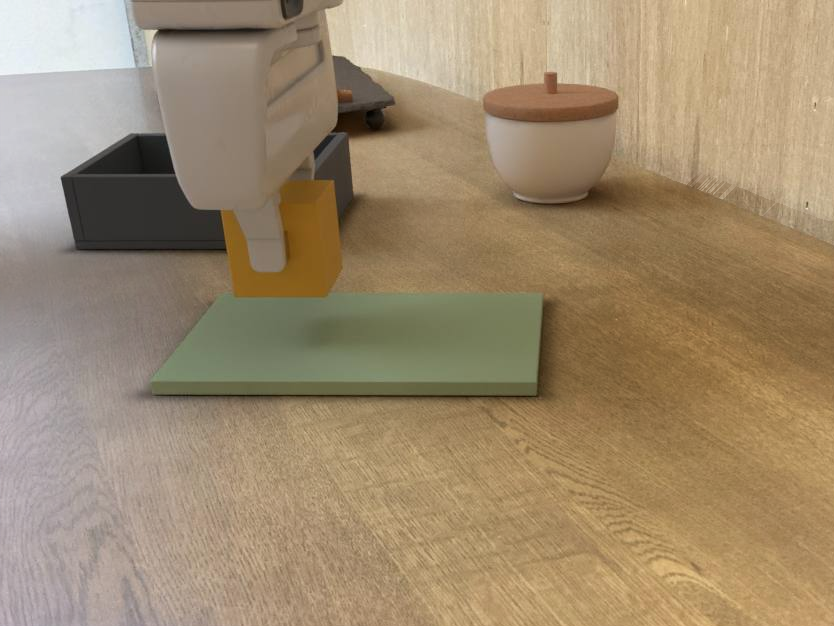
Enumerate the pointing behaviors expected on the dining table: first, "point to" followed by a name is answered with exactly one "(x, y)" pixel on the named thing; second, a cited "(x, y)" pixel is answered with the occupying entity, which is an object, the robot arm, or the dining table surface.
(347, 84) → the serving tray
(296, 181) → the mustard block
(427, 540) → the dining table surface
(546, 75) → the lidded sugar bowl
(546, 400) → the dining table surface
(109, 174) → the box
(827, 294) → the dining table surface
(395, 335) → the mat
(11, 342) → the dining table surface
